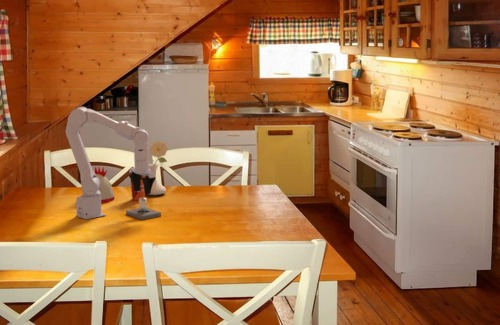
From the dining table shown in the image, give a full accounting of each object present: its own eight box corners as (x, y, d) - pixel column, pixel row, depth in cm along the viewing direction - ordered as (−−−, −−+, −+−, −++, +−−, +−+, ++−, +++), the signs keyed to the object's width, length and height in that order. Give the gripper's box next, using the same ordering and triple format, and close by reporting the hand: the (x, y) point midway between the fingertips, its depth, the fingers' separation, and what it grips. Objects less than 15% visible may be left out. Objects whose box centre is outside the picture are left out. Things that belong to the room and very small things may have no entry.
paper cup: (138, 202, 305) (137, 170, 302) (126, 199, 310) (125, 168, 307) (151, 198, 311) (150, 168, 309) (139, 196, 316) (138, 166, 313)
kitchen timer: (110, 203, 302) (109, 170, 300) (79, 203, 302) (77, 169, 300) (117, 196, 316) (116, 164, 313) (87, 196, 316) (85, 163, 313)
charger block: (142, 219, 275) (142, 214, 275) (126, 214, 284) (125, 208, 284) (161, 216, 281) (160, 210, 281) (144, 210, 290) (144, 205, 290)
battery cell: (142, 216, 281) (142, 198, 279) (137, 215, 283) (137, 197, 281) (148, 215, 283) (148, 197, 281) (144, 213, 285) (143, 195, 284)
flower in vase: (137, 196, 316) (135, 141, 312) (147, 190, 327) (146, 138, 322) (163, 198, 313) (162, 143, 308) (173, 192, 323) (172, 139, 319)
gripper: (160, 160, 276) (160, 194, 279) (140, 156, 287) (141, 188, 289) (145, 162, 272) (146, 196, 274) (125, 158, 282) (126, 190, 285)
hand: (142, 192), depth 281 cm, fingers open, 7 cm apart
